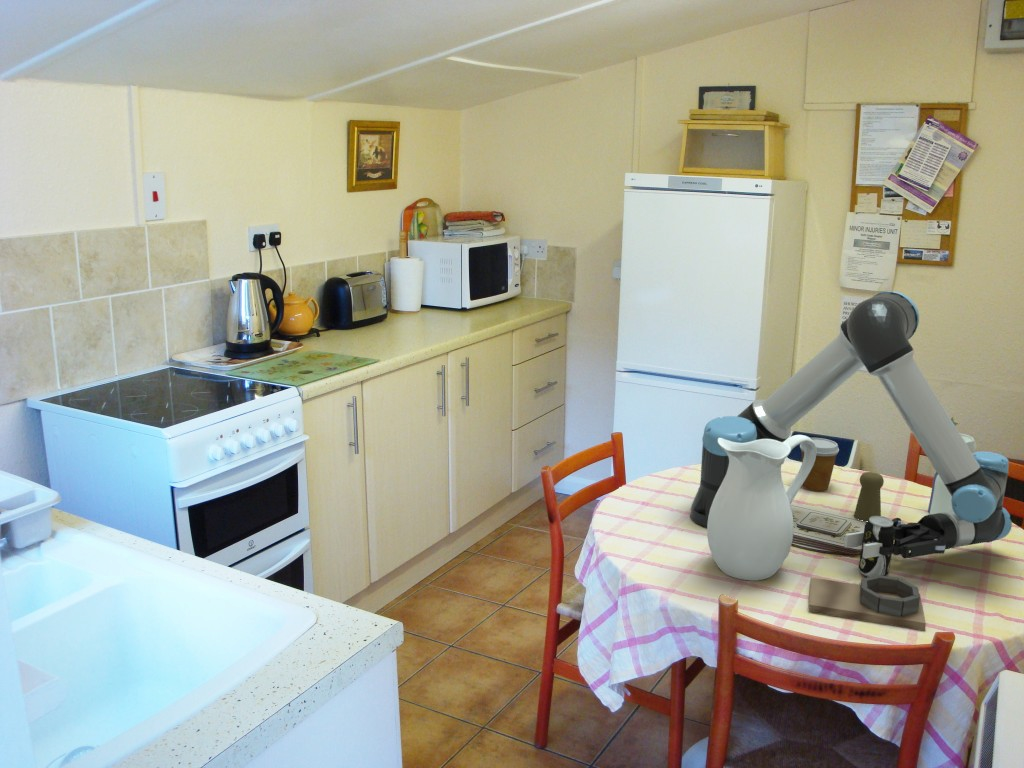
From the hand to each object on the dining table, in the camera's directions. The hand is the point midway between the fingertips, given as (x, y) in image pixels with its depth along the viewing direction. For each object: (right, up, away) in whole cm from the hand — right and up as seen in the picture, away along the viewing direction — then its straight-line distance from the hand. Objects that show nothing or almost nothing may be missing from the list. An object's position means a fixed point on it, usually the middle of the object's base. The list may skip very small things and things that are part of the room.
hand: (855, 546), depth 183 cm
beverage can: (+5, -6, +4) cm, 9 cm away
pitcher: (-17, -5, +7) cm, 19 cm away
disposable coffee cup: (+9, +6, +52) cm, 53 cm away
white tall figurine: (+35, +1, +36) cm, 50 cm away
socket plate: (-2, -10, -10) cm, 14 cm away
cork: (+15, +1, +33) cm, 36 cm away
